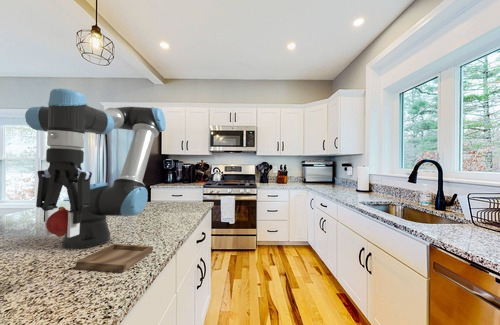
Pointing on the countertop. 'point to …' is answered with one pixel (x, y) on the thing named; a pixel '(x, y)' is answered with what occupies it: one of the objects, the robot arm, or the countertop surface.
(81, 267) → the tray
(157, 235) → the countertop surface
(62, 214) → the red fruit
